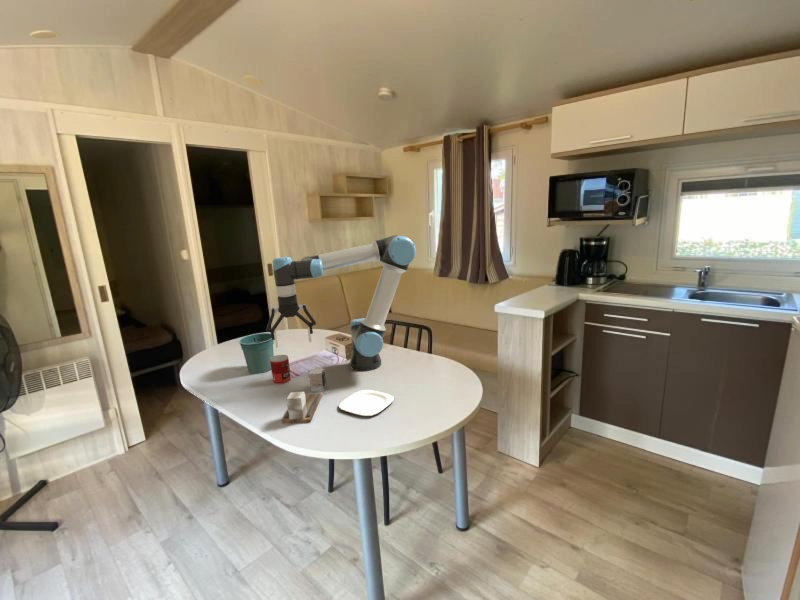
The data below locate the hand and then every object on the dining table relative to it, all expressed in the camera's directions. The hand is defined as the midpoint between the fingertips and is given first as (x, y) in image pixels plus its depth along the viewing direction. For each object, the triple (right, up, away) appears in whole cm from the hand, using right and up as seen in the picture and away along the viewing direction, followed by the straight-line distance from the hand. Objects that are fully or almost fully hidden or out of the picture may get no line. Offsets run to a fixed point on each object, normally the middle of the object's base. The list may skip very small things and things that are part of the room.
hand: (293, 344), depth 159 cm
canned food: (-9, -18, +12) cm, 23 cm away
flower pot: (-24, -16, +27) cm, 39 cm away
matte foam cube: (+10, -19, +1) cm, 22 cm away
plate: (+32, -22, -15) cm, 42 cm away
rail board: (+8, -23, -16) cm, 29 cm away
